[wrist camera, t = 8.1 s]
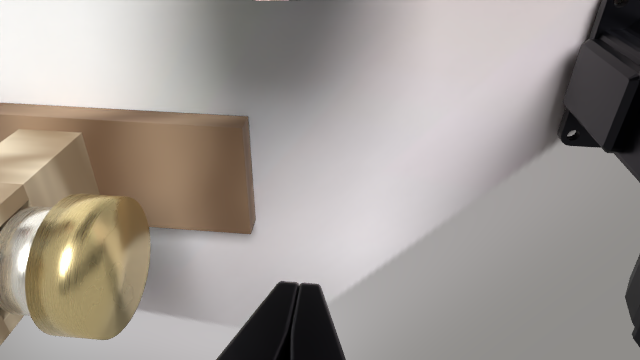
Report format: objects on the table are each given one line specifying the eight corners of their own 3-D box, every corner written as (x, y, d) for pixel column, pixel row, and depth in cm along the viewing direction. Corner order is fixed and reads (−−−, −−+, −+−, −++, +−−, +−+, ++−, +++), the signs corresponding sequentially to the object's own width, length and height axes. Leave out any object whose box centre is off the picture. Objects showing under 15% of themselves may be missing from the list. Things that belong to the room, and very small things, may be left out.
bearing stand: (248, 116, 21) (163, 281, 13) (255, 219, 25) (192, 408, 16) (-20, 101, 22) (-276, 247, 13) (21, 203, 25) (-162, 374, 17)
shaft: (135, 170, 18) (61, 262, 14) (158, 268, 21) (103, 371, 16) (-78, 156, 19) (-215, 241, 14) (-27, 254, 21) (-129, 349, 17)
